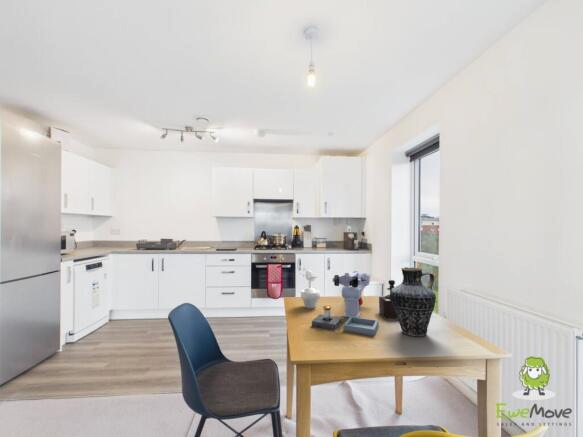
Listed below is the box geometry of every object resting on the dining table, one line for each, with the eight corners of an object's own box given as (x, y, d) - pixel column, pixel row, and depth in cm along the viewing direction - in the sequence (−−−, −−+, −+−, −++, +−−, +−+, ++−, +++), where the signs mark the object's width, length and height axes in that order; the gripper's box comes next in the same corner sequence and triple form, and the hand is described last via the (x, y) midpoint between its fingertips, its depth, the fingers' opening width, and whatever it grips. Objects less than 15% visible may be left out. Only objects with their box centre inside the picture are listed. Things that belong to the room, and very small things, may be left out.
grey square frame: (319, 319, 155) (319, 314, 155) (341, 322, 150) (341, 317, 150) (311, 326, 144) (311, 321, 144) (335, 330, 139) (335, 324, 139)
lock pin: (324, 322, 149) (324, 305, 149) (332, 323, 148) (332, 306, 148) (322, 325, 146) (322, 307, 146) (329, 326, 144) (329, 308, 144)
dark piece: (405, 318, 156) (405, 284, 156) (385, 318, 156) (385, 284, 156) (394, 309, 172) (393, 279, 172) (375, 309, 171) (375, 279, 171)
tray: (350, 322, 150) (350, 316, 150) (378, 326, 144) (378, 320, 144) (343, 331, 137) (343, 325, 137) (374, 336, 131) (374, 329, 131)
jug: (408, 343, 123) (407, 272, 124) (382, 327, 142) (381, 266, 143) (448, 338, 129) (447, 270, 129) (418, 323, 148) (417, 264, 148)
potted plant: (298, 305, 180) (298, 264, 181) (315, 303, 184) (315, 264, 184) (305, 311, 168) (305, 267, 169) (323, 309, 172) (323, 267, 172)
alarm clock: (348, 300, 180) (343, 289, 194) (348, 309, 181) (342, 297, 196) (365, 299, 180) (358, 289, 195) (364, 309, 182) (358, 297, 196)
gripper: (335, 271, 159) (328, 273, 147) (362, 273, 153) (357, 275, 141) (335, 284, 159) (328, 287, 146) (362, 286, 153) (357, 290, 140)
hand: (342, 282), depth 144 cm, fingers open, 7 cm apart
